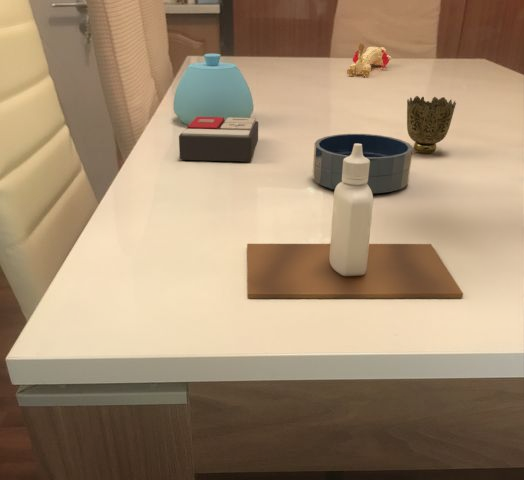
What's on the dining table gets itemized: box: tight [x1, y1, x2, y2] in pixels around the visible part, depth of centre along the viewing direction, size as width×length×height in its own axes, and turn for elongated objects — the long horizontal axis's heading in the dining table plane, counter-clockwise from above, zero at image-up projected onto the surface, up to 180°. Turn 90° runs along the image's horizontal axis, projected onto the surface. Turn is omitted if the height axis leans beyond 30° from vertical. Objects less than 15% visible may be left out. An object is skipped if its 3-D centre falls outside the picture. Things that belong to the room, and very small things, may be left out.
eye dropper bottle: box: [329, 143, 374, 276], centre depth 61 cm, size 4×6×12 cm
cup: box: [406, 95, 457, 155], centre depth 102 cm, size 8×7×8 cm
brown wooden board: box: [246, 243, 464, 299], centre depth 64 cm, size 20×12×1 cm, turn 91°
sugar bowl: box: [173, 53, 254, 126], centre depth 119 cm, size 15×15×12 cm
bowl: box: [312, 133, 414, 195], centre depth 89 cm, size 13×13×5 cm
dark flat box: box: [178, 117, 259, 163], centre depth 103 cm, size 11×4×15 cm
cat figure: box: [346, 43, 392, 77], centre depth 175 cm, size 10×9×25 cm
